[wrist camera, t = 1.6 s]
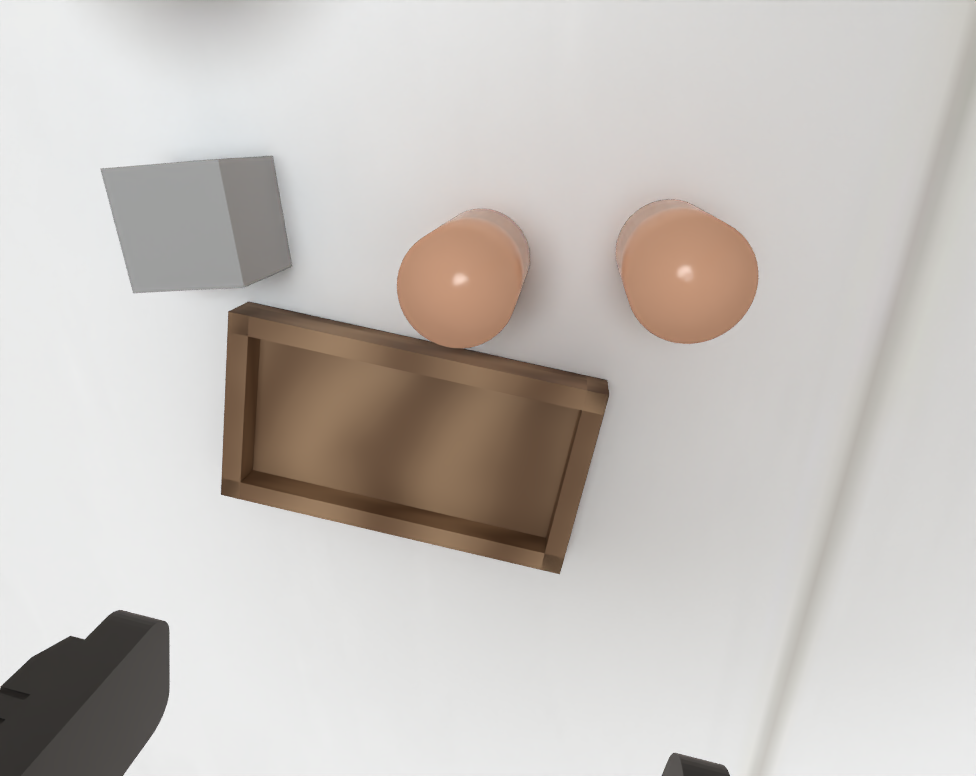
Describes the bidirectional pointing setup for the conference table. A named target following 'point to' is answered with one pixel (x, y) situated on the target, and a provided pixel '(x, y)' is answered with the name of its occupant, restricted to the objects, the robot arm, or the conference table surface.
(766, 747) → the conference table surface
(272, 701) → the conference table surface
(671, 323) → the clay cylinder
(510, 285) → the clay cylinder
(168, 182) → the grey block
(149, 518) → the conference table surface
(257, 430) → the tray
